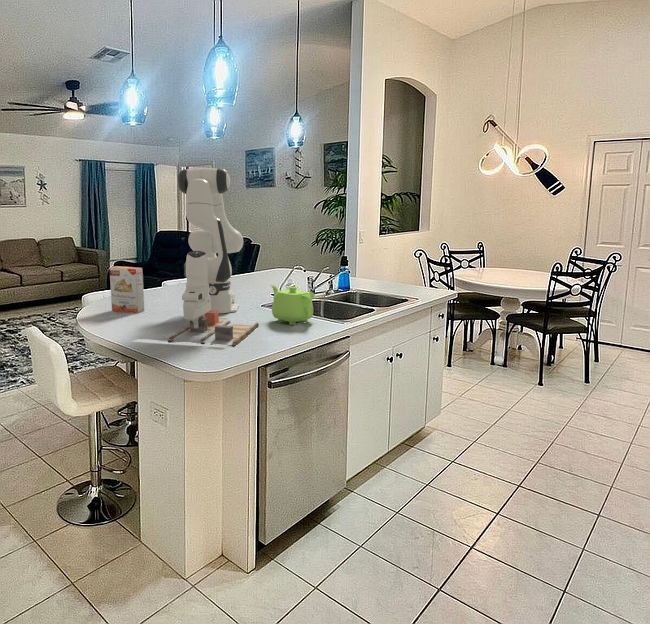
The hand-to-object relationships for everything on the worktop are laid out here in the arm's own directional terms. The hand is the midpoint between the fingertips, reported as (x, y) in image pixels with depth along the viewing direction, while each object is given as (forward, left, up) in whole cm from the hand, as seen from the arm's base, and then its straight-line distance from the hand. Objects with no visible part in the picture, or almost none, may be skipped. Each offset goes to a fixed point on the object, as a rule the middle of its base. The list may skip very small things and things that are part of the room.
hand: (198, 326), depth 219 cm
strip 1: (-11, 0, -3) cm, 11 cm away
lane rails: (-1, +7, -3) cm, 8 cm away
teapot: (-34, +32, -3) cm, 47 cm away
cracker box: (-33, -48, -3) cm, 58 cm away
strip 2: (-1, +14, -3) cm, 14 cm away
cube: (-14, 0, -2) cm, 14 cm away
